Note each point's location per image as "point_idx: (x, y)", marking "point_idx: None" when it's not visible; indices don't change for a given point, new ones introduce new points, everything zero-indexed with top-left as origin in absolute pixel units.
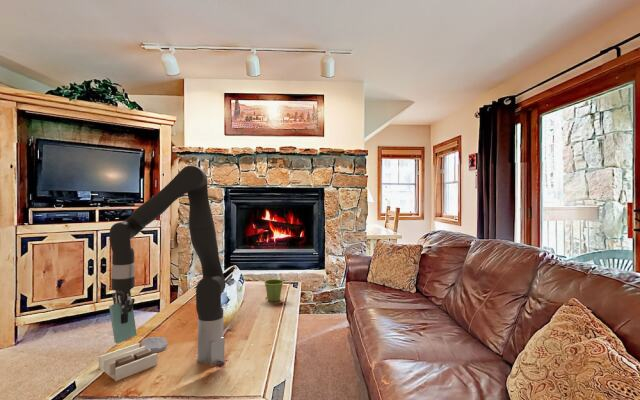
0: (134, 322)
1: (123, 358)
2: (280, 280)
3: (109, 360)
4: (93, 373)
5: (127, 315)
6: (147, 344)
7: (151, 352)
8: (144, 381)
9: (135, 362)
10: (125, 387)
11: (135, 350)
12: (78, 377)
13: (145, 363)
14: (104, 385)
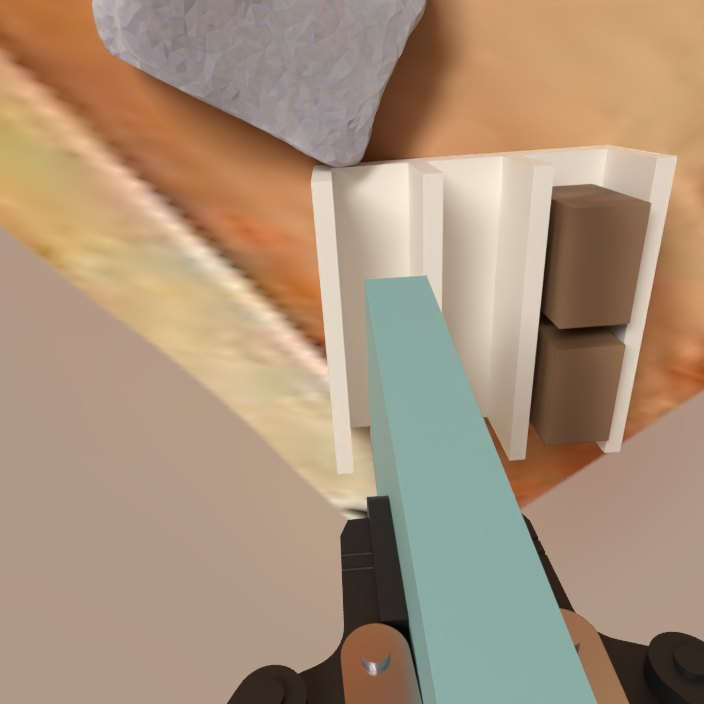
0: (461, 372)
1: (568, 403)
2: None
3: None
4: None
5: (557, 585)
6: (266, 66)
7: (644, 201)
8: (679, 278)
9: (638, 337)
10: (638, 371)
11: (441, 262)
12: (324, 492)
13: None
14: None
